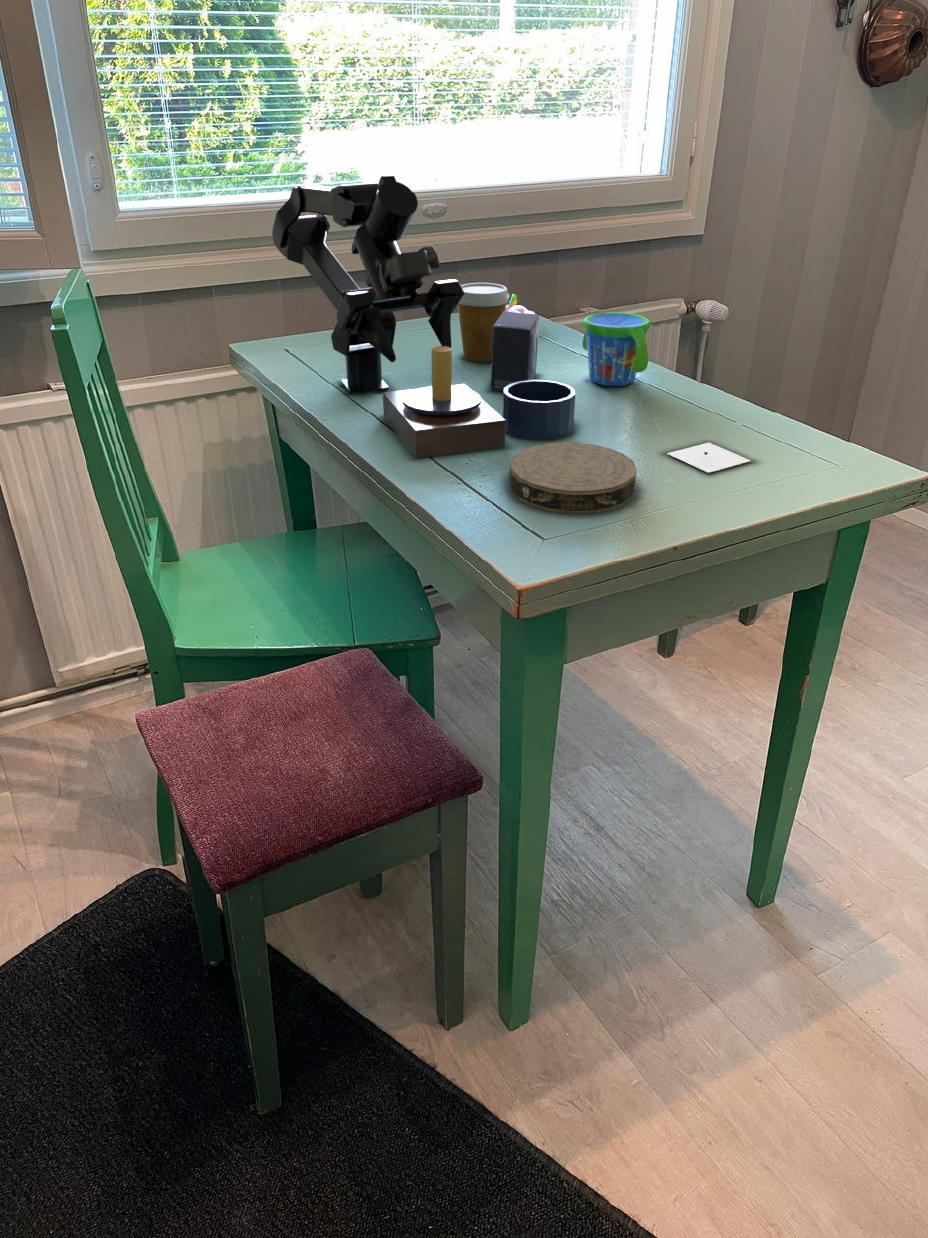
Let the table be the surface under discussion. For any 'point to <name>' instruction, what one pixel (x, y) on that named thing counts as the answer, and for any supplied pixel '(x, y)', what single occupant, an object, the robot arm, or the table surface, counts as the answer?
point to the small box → (514, 349)
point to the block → (444, 428)
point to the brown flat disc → (572, 477)
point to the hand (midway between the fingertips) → (422, 355)
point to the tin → (538, 409)
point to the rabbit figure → (516, 308)
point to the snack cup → (615, 347)
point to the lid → (441, 390)
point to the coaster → (708, 457)
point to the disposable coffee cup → (480, 318)
